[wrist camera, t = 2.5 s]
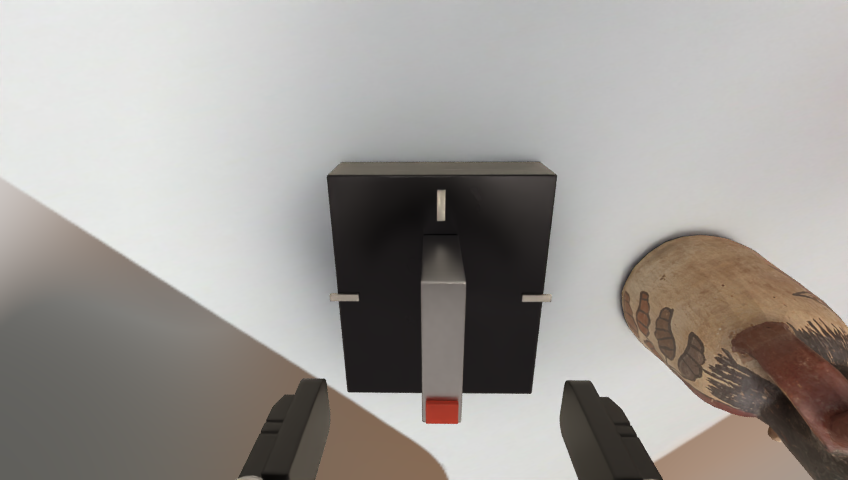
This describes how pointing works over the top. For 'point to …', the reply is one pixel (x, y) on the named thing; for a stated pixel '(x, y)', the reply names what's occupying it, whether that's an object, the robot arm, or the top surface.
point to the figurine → (747, 343)
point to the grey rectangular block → (442, 329)
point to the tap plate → (402, 264)
